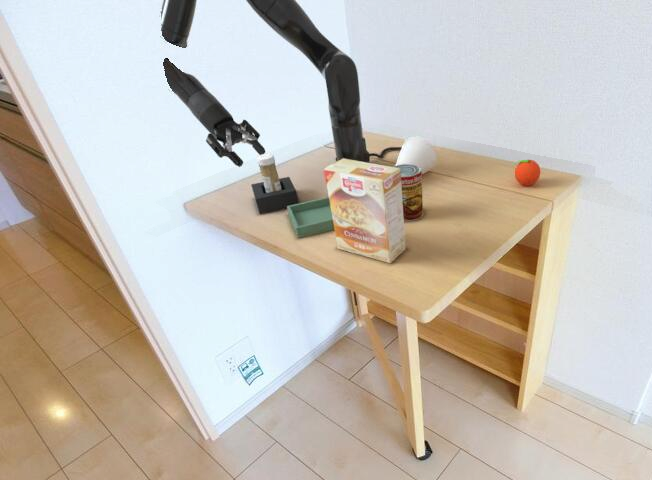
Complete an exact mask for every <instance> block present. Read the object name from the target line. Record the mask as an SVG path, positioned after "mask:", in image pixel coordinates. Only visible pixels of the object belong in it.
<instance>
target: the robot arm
mask: <svg viewBox="0 0 652 480" xmlns="http://www.w3.org/2000/svg"><path fill="white" fill-rule="evenodd" d="M197 1H198V0H163V2H162V5H161V9H162V11H161V10H160V13H161V25H160V26H161V31H162V36H163V37H164V39H165V40H164V39H163V40H164V41H165V42H166V41H167V42H169V43H171V44H173V45H176V46H179V47H182V48H186V47H187V46H188V39H189V36H190V33H191V29H192V27H193V22H194V18H195V13H196V8H197ZM245 1H246V3H247V4H248V5H249V6H250V7H251V9H252V10H253V11H254V12H255V13H256V14H257V16H258V17H259V18H260V19H261V20H262V21H263V22H264V23H265V24H267V26H269V28H271V29H272V30H273V31H274V32H275V33H276V34H277V35H278V36H280V37H281V38H282V39H284V40H285V41H286V42H287V43H289V44H290V45H291V46H293V47H294V48H295V49H297V50H298V51H299V52H301V53H302V54H303V55H304V56H305V57H306V58H307V59H308V60H309V61H310V63H311V64H312V65H313V66H314V67H315V68H316V69H317V71H318V72H319V73H320V74H321V76H322V77H323V79H324V80H325V85H326V92H327V98H328V99H327V100H328V112H329V113H328V114H329V119H330V126H331V132H332V138H333V139H332V140H333V144H334V152H335V163H336V162H337V161H339V160H341V159H343V158H344V159H349V160H355V161H361V162H366V163H371V158H370V157H376V158H378V159H381V158H382V157H383V156H384V154H385V153H386V152H388V151H394V150H395V151H400V150H401V148H402V146H389V147H386V148H384V149H383V150H381V153H380V154H378V153H377V152H374V153H371V152H369V151H368V150H367V141H366V138H365V137H364V133H363V124H362V115H361V93H360V83H359V75H358V74H359V72H358V68H357V66H356V63H355V61H354V60H353V58H352V57H350V56H349V55H348V54H346V53H345V52H343V51H342V50H341V49H340V48H338V47H337V46H336V45H335V44H333V42H331V41H330V39H329V38H327V37H325V35H324V34H323V33H321V31H320V30H319V29H318V28H317V27H316V25H315V24H314V22H313V21H312V20H311V18H310V17H309V15H308V14H307V13H306V11H305V10H304V9H303V7H302V6H301V5H300V4H299V3H298V2H297V1H296V0H245ZM163 66H164V69H165V70H164V71H165V76H166V78H167V82H168V84H169V86H170V88H171V89H172V91H173V92H174V93H173V92H172V91H171V92H172V93H173V94H175V95H176V96H177V97H178V98H179V100H180V101H181V102H182V103H183V104H184V105H185V106H186V108H188V109H189V111H190V112H191V113H192V115H193V116H194V117H195V118H196V119H197V121H199V122H200V124H201V125H202V126H203V127H204V128H205V129H206V130H207V131H208V132H209V133H208V134H207V137H206V139H205V142H206V143H207V145H208V146H209V147H210V148H211V149H212V151H213V152H215V154H216V155H217V157H218V158H221V159H222V158H223V157H226V158H228V159H229V160H230V161H231V162H232V163H233V164H234V166H237V167H238V168H240V167H242V166H243V164H244V160H243V159H242V158H241V157H240V156H239V155H238V154H237V153H236V152H235V151H234V150H233V146H235V145H236V144H240V143H242V144H248V145H250V146H251V147H252V148H253V149H254V150H255V152H256V153H257V154H258V156H259V155H262V154H266V149H265V148H264V146H263V145H262V144H261V143H260V142H259V138H260V137H261V134H260V133H259V132H258V131H257V130H256V129H255V128H254V127H253V125H251V124H250V122H248V121H247V120H246V119H243V120H242V121H241V122H240V123H238V122H236V121H235V120H234V116H233V115H232V114H231V113H230V112H229V111H228V110H227V108H226V107H225V106H224V105H223V104H222V103H221V102H220V101H219V99H217V97H216V96H214V94H212V93H211V92H210V91H209V90H208V89H207V88H206V86H204V84H202V82H201V81H200V80H199V79H198V77H196V76H195V75H194V74H192V73H191V74H190V73H187V72H182V71H181V70H180V69H178V68H177V67H176V66H175V65H174V64H173V63H171V62H170V61H169V59H168V58H165V59H164V62H163ZM220 142H221V143H222V144H221V143H220Z"/></svg>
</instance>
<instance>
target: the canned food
mask: <svg viewBox="0 0 652 480" xmlns="http://www.w3.org/2000/svg"><path fill="white" fill-rule="evenodd" d="M393 167H395V168H400V173H401V187H402V202H403V217H404V222H413V221H417V220H419V219H421V218H422V217H423V215H424V204H423V203H424V201H423V180H422V179H423V178H422V177H423V174H422V173H421V167H420V166H418V165H414V164H401V165H397V166H395V165H394V166H393Z"/></svg>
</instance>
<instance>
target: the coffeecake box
mask: <svg viewBox="0 0 652 480" xmlns="http://www.w3.org/2000/svg"><path fill="white" fill-rule="evenodd" d="M323 172H324V173H323V174H324V179H325V184H326V190H327V195H328V197H329V201H330V207H331V212H332V218H333V223H334V229H335V230H334V234H335V235H334V236H335V239H336V245H337V249H338V250H341V251H344V252H345V251H346V252H349V253H353V254H356V255H358V256H363V257H366V258H370V259H374V260H377V261H380V262H384V263H386V264H392V262H394V261H395V260H396V259H397V258H398V256H400V255H402V253H404V252H405V251H406V249H407V248H406V235H405V221H404V217H403V202H402V187H401V173H400V168H395V167H394V166H388V165H382V164H378V163H372V162H368V163H366V162H361V161H355V160H349V159H344V158H343V159H341V160H339V161H337V162H336V161H335V162H334V163H332V164H329V165H328V166H326V167H325V168H324V169H323Z"/></svg>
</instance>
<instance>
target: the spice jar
mask: <svg viewBox="0 0 652 480" xmlns="http://www.w3.org/2000/svg"><path fill="white" fill-rule="evenodd" d="M256 161H257V165H258V167H259V170H260V174H261V179H262V182H264V186H265V189H266V193H270V192H274V191H279V190H282V188H281V185H280V181H279V179H280V177H279V174H278V171H277V167H276V159H275V156H274V154H273V153H265V154H262V155H259V154H258V156H257V157H256Z"/></svg>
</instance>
